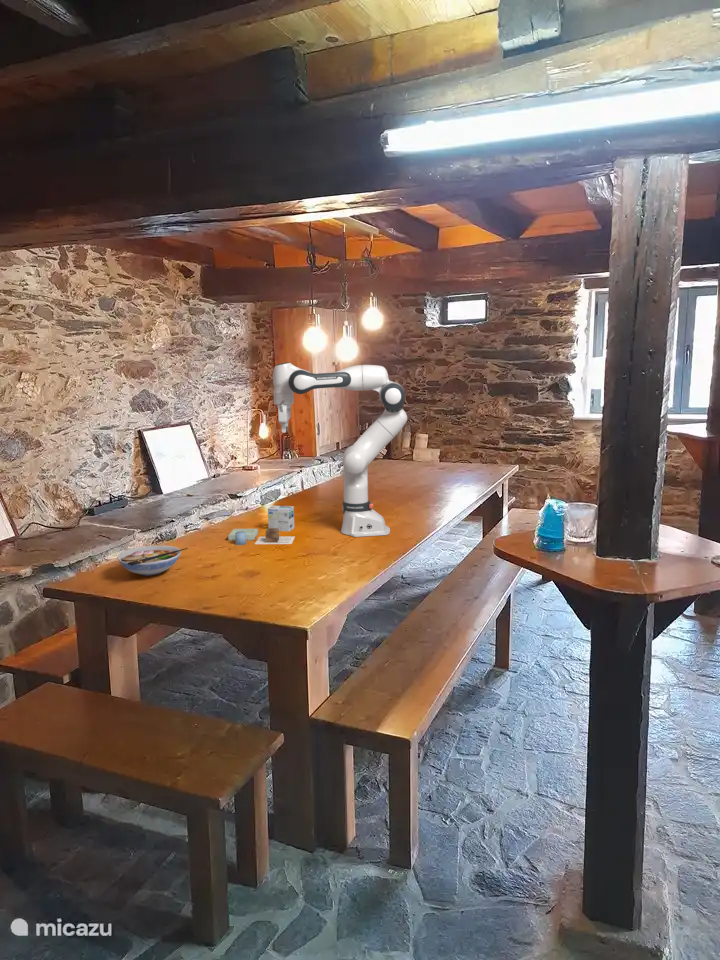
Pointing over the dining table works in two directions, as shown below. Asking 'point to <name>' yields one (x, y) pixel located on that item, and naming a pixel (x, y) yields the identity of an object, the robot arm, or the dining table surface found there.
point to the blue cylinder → (240, 538)
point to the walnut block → (272, 534)
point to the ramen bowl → (149, 559)
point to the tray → (250, 534)
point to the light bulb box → (281, 517)
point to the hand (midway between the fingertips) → (284, 431)
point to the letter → (281, 540)
